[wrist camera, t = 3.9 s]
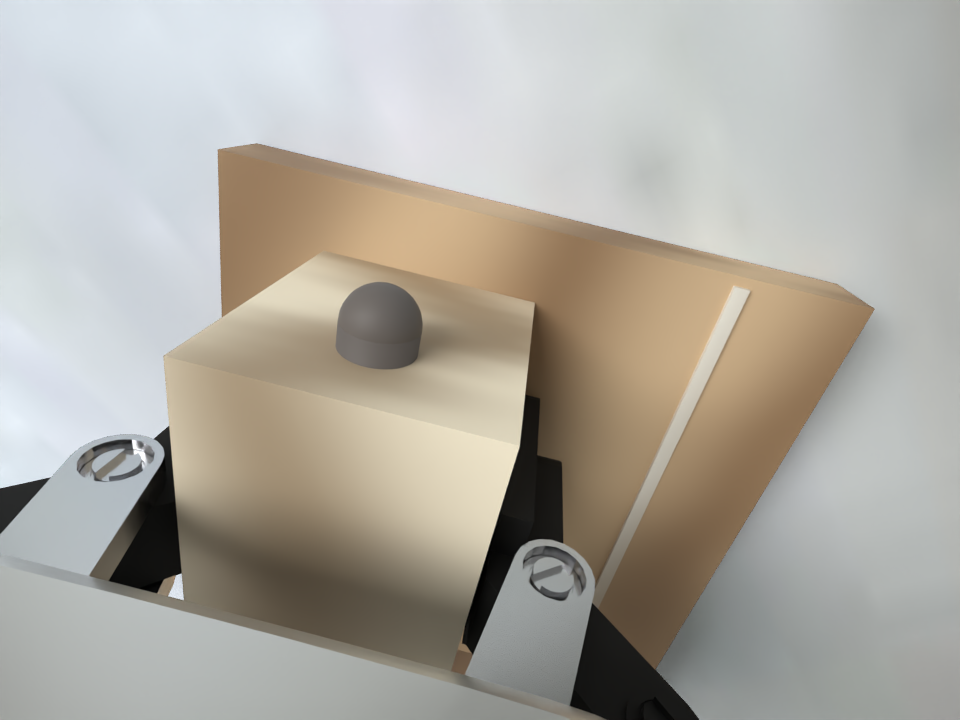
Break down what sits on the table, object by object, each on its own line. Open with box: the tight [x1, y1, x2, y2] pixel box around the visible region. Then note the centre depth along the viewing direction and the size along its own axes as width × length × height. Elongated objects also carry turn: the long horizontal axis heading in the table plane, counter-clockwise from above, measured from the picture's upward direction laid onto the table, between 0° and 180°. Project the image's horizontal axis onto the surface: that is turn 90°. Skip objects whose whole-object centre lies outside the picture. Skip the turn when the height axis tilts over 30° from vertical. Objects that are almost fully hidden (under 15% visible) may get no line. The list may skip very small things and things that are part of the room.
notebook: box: [218, 144, 874, 675], centre depth 15 cm, size 13×20×2 cm, turn 168°
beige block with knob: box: [163, 251, 535, 671], centre depth 10 cm, size 4×9×5 cm, turn 168°
